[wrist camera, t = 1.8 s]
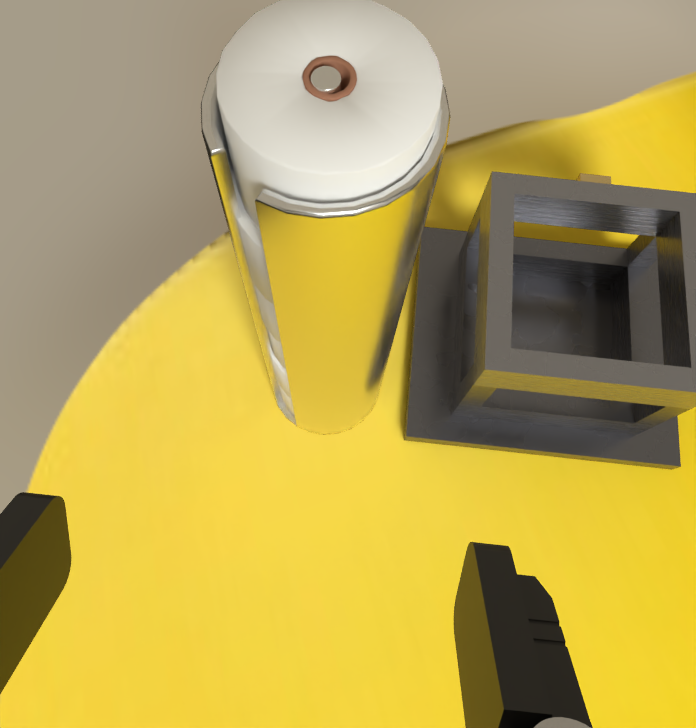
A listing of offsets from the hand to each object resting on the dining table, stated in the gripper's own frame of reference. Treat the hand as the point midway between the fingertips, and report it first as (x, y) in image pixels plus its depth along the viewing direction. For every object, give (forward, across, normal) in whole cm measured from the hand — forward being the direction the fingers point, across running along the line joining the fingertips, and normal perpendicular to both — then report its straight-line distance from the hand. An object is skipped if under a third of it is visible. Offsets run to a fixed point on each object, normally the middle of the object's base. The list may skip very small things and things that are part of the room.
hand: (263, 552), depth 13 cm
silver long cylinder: (+25, 0, +9) cm, 27 cm away
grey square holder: (+28, -13, +6) cm, 31 cm away
